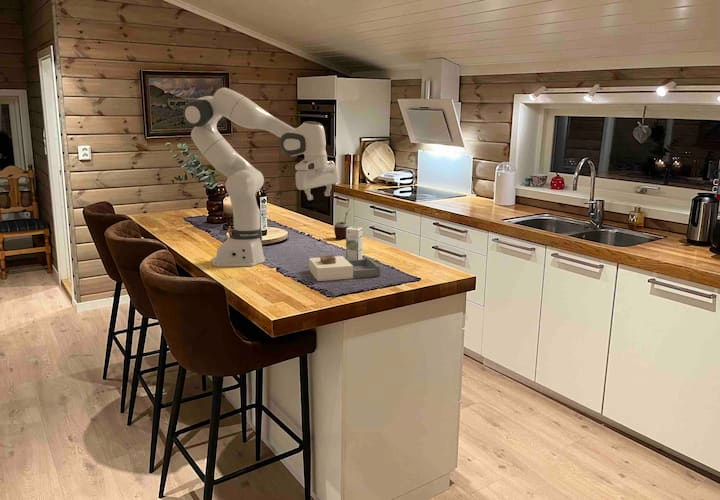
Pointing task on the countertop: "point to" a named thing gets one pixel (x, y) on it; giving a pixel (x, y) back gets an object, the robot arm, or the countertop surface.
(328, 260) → the walnut tile
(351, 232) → the syrup box
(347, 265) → the cream square block
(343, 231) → the mate gourd
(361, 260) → the charcoal box
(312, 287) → the countertop surface
